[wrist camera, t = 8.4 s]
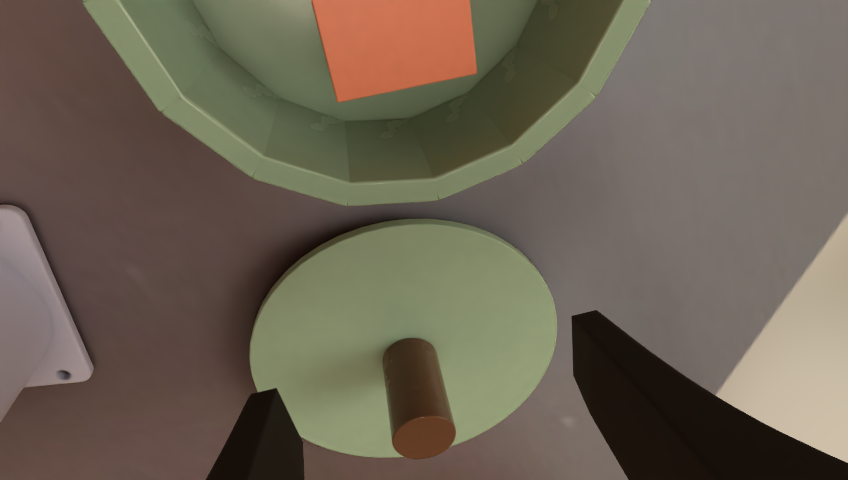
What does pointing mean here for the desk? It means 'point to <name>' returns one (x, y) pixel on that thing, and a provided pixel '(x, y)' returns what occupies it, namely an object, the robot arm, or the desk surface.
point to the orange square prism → (394, 43)
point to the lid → (404, 337)
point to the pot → (370, 116)
